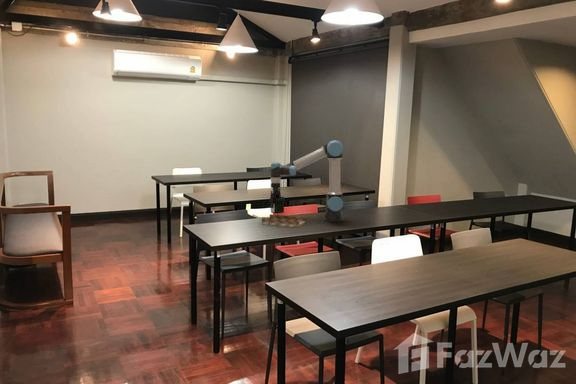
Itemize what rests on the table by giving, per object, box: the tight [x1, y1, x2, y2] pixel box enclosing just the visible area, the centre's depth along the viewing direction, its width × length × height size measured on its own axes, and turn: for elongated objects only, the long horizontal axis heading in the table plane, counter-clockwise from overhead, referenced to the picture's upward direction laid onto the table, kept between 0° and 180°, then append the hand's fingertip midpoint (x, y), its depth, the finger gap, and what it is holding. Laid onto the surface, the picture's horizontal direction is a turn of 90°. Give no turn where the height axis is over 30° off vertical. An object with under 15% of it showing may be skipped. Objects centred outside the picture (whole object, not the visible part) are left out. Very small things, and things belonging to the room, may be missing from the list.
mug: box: [267, 196, 285, 215], centre depth 364 cm, size 11×15×12 cm
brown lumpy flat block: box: [261, 213, 306, 228], centre depth 363 cm, size 30×16×5 cm, turn 68°
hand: (275, 210), depth 364 cm, fingers closed on mug, 10 cm apart
